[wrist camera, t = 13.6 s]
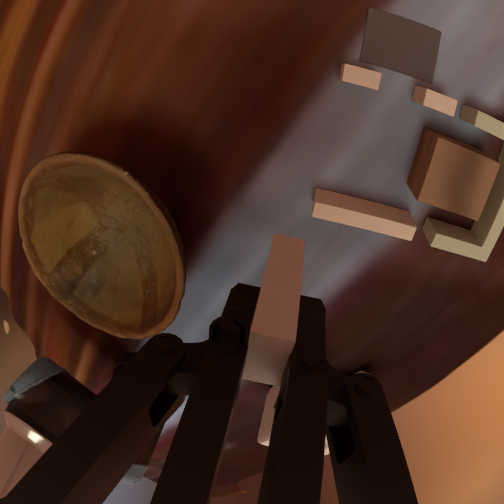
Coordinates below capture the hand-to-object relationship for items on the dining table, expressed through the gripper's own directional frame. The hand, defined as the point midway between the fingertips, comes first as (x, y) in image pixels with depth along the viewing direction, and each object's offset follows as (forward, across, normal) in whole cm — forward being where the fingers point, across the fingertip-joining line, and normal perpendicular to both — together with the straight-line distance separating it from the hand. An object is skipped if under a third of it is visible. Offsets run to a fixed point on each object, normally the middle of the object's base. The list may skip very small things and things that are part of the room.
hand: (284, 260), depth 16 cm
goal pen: (+16, +18, +4) cm, 25 cm away
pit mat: (+16, +7, +14) cm, 23 cm away
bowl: (+18, -18, -10) cm, 27 cm away
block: (+17, +14, +4) cm, 22 cm away
